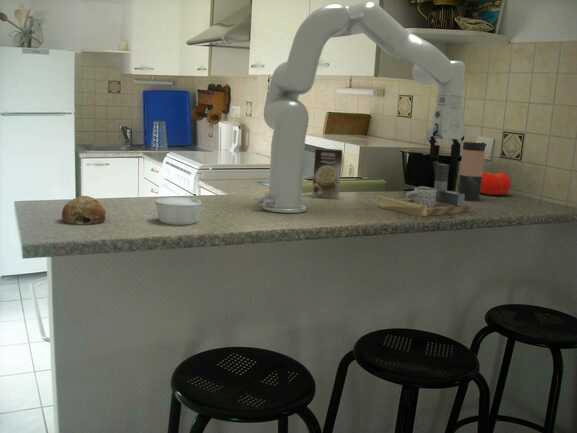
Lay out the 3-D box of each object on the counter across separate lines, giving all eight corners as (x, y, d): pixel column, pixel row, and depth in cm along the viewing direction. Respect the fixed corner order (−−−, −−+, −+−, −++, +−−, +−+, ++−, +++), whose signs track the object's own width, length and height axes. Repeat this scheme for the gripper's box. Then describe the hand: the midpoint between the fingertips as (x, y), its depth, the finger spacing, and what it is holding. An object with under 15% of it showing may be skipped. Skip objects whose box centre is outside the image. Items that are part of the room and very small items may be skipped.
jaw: (457, 205, 192) (461, 167, 190) (416, 197, 206) (419, 161, 204) (463, 205, 194) (467, 167, 192) (422, 196, 207) (425, 161, 205)
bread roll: (63, 239, 148) (63, 211, 144) (59, 213, 156) (60, 186, 151) (106, 237, 152) (108, 210, 148) (101, 212, 159) (103, 186, 155)
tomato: (504, 193, 246) (507, 171, 244) (512, 198, 234) (515, 175, 232) (471, 191, 247) (474, 169, 246) (477, 195, 235) (479, 173, 234)
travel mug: (482, 199, 225) (488, 143, 221) (476, 202, 219) (482, 144, 215) (461, 197, 229) (466, 141, 225) (454, 199, 223) (460, 142, 219)
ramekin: (208, 224, 156) (208, 203, 155) (165, 227, 150) (166, 205, 149) (189, 216, 165) (190, 196, 164) (148, 218, 159) (149, 198, 158)
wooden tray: (418, 216, 183) (419, 206, 182) (378, 206, 197) (379, 197, 196) (472, 211, 197) (473, 202, 196) (431, 203, 210) (431, 194, 210)
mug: (427, 208, 200) (429, 187, 198) (438, 212, 193) (440, 190, 192) (399, 208, 197) (401, 187, 195) (409, 212, 190) (411, 190, 189)
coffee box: (311, 197, 209) (314, 148, 206) (312, 194, 215) (315, 147, 212) (338, 199, 208) (342, 150, 205) (339, 196, 214) (342, 149, 211)
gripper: (439, 101, 186) (435, 159, 189) (477, 103, 196) (472, 158, 199) (420, 100, 192) (416, 157, 195) (458, 102, 202) (453, 155, 205)
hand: (444, 157), depth 197 cm, fingers open, 9 cm apart
